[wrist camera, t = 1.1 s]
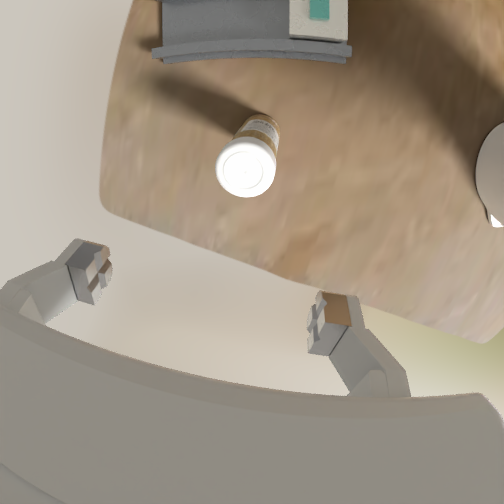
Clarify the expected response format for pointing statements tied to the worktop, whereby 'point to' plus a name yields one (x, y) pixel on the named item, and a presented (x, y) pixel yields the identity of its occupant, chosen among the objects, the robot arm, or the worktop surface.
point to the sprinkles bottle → (249, 158)
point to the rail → (254, 30)
